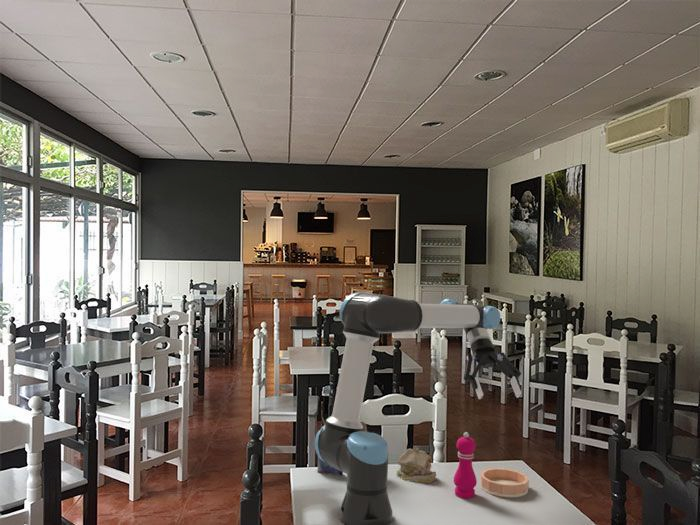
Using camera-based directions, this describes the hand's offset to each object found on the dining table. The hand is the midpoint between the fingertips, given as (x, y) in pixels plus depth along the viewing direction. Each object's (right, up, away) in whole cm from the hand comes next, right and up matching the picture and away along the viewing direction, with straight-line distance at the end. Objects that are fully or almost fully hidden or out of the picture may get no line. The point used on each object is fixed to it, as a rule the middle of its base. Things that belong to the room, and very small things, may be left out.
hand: (500, 396), depth 197 cm
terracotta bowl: (+2, -31, +2) cm, 31 cm away
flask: (-56, -30, +13) cm, 64 cm away
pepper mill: (-12, -31, -4) cm, 33 cm away
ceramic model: (-26, -30, +11) cm, 42 cm away
